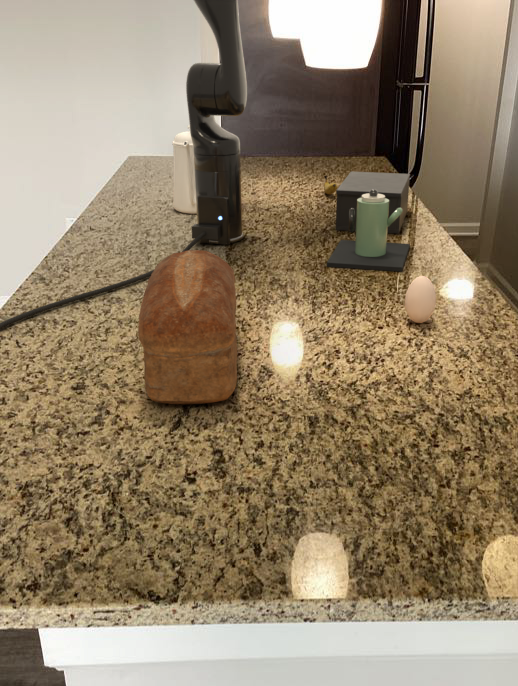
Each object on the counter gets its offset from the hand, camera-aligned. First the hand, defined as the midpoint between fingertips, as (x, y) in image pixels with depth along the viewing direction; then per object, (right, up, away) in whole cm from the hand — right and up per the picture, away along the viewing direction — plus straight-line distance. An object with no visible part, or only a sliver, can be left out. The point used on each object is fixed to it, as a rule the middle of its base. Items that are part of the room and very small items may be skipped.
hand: (336, 48), depth 160 cm
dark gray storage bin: (+9, -31, +17) cm, 36 cm away
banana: (+1, -19, +39) cm, 43 cm away
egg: (+10, -61, -38) cm, 73 cm away
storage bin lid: (+9, -24, +13) cm, 29 cm away
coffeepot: (-31, -26, +26) cm, 48 cm away
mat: (+6, -44, -8) cm, 45 cm away
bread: (-23, -68, -52) cm, 89 cm away
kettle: (+6, -43, -8) cm, 45 cm away
